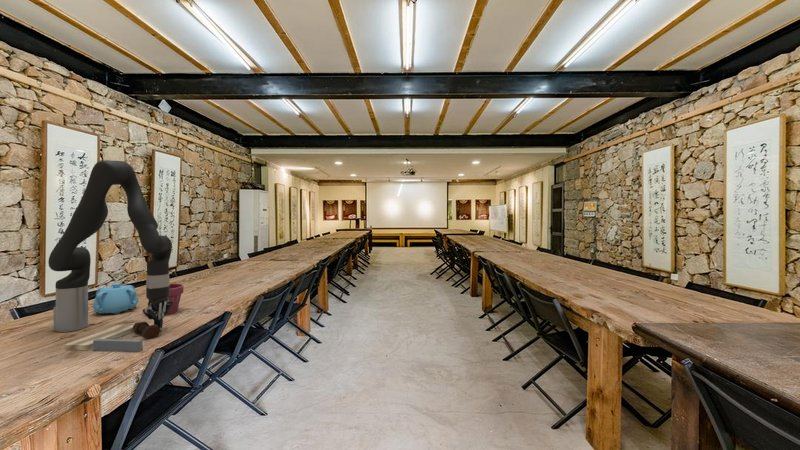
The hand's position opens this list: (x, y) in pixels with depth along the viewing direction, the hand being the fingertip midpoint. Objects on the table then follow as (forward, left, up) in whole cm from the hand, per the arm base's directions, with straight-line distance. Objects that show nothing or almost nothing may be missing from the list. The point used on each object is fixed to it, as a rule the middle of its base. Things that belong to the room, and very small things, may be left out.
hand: (158, 328), depth 127 cm
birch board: (-14, -9, -2) cm, 16 cm away
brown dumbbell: (-3, -3, -2) cm, 5 cm away
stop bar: (0, -18, -2) cm, 18 cm away
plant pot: (-16, +24, -2) cm, 29 cm away
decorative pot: (-41, +25, -2) cm, 48 cm away
